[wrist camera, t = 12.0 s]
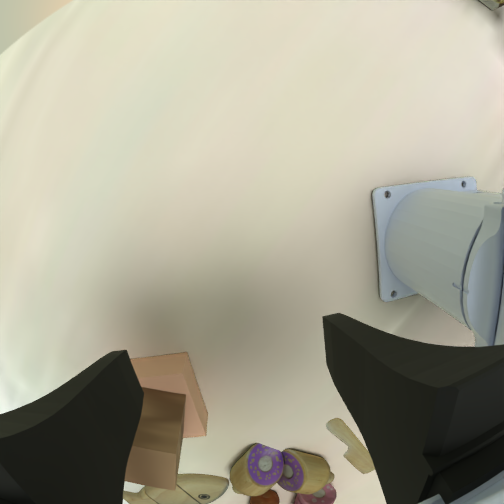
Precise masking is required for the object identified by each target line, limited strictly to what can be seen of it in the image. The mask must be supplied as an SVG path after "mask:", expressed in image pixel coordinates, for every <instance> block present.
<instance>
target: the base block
mask: <svg viewBox="0 0 504 504" xmlns="http://www.w3.org/2000/svg"><path fill="white" fill-rule="evenodd" d="M130 360H131V363H132V365H133V368H134V370H135V373H136V375H137V378H138V380H139V382H140V385H141V387H145V388H150V389H156V390H161V391H167V392H173V393H179V394H186V402H185V416H184V431H183V438H188V437H199V436H206V433H207V417H208V412H207V410H206V407H205V404H204V401H203V398H202V395H201V393H200V390H199V387H198V384H197V381H196V378H195V375H194V372H193V369H192V366H191V363H190V360H189V356H188V353H187V352H184V353H177V354H169V355H161V356H153V357H145V358H136V359H130Z"/></svg>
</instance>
